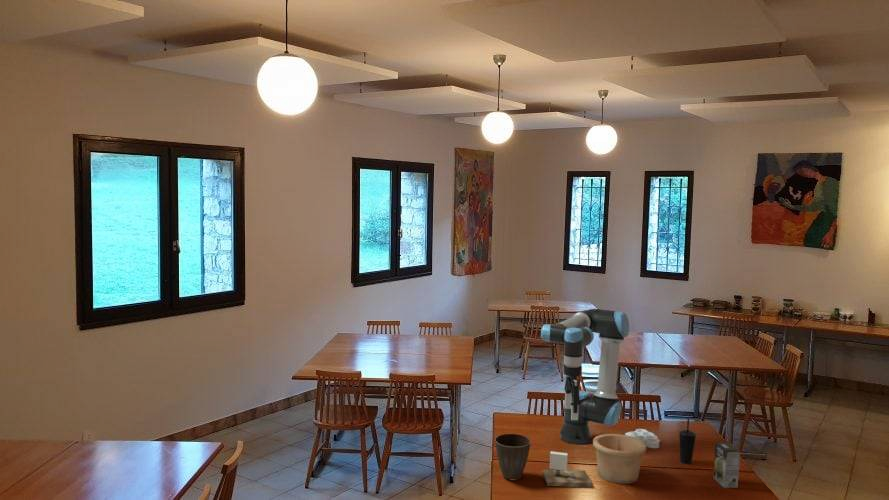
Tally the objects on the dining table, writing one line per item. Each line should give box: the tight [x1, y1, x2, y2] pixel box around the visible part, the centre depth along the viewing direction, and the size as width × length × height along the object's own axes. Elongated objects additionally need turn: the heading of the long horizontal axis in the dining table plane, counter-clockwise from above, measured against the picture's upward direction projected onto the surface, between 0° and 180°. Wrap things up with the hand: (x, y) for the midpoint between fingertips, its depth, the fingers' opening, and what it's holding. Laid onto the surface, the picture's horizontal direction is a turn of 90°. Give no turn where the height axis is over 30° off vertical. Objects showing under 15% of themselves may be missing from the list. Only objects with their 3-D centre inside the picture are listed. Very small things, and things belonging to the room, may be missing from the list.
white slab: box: [549, 451, 575, 477], centre depth 270 cm, size 2×11×9 cm, turn 75°
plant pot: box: [494, 433, 532, 481], centre depth 273 cm, size 15×15×16 cm
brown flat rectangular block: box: [542, 469, 592, 489], centre depth 271 cm, size 18×12×2 cm, turn 91°
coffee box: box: [713, 441, 741, 489], centre depth 272 cm, size 9×6×16 cm
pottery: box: [592, 433, 647, 485], centre depth 277 cm, size 22×22×14 cm
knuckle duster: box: [624, 428, 661, 449], centre depth 318 cm, size 3×18×15 cm
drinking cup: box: [678, 418, 697, 465], centre depth 293 cm, size 8×8×20 cm
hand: (571, 414), depth 275 cm, fingers open, 13 cm apart
